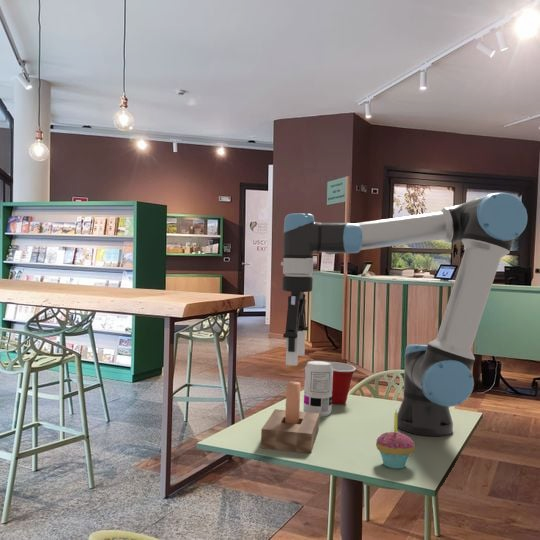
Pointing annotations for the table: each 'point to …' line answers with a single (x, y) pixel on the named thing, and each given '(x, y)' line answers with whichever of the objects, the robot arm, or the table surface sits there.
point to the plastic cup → (341, 381)
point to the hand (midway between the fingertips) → (295, 360)
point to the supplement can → (318, 387)
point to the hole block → (290, 432)
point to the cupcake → (395, 447)
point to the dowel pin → (292, 402)
